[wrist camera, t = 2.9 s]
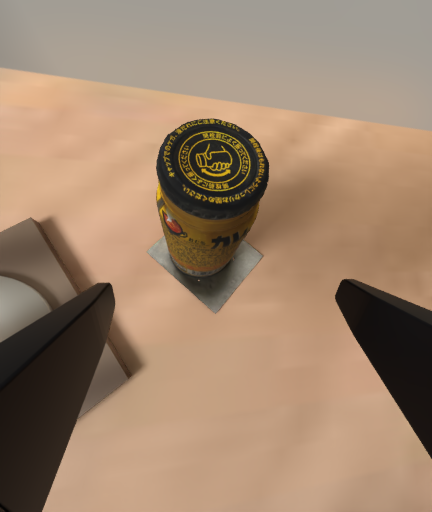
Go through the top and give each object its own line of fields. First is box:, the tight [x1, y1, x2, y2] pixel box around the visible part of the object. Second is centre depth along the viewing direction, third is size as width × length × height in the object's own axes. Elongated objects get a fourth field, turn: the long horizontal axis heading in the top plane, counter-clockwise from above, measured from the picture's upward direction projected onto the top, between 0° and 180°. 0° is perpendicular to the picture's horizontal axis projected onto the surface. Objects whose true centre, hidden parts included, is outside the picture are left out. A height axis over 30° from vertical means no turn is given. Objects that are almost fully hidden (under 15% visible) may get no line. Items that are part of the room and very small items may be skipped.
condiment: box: [147, 119, 269, 314], centre depth 15 cm, size 7×8×12 cm
